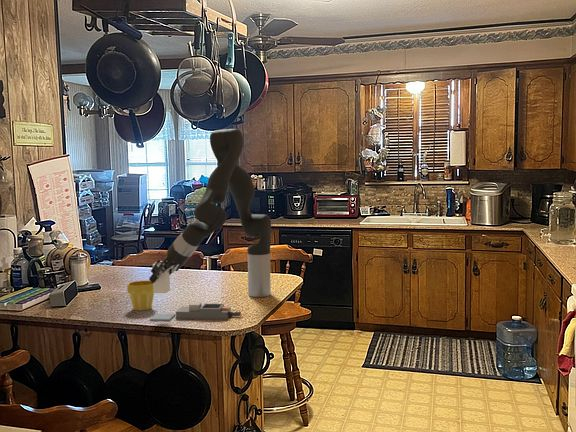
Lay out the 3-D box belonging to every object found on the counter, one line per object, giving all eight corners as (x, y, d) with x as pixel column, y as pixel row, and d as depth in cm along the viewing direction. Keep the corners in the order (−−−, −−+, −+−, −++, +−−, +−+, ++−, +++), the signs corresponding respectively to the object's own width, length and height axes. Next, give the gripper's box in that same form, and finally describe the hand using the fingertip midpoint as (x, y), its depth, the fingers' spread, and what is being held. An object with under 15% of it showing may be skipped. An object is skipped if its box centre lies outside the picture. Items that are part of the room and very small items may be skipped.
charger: (157, 290, 201) (156, 260, 200) (170, 290, 200) (169, 260, 199) (153, 293, 196) (152, 262, 195) (166, 293, 196) (165, 262, 195)
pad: (156, 315, 203) (156, 313, 203) (175, 315, 202) (175, 313, 202) (149, 320, 196) (149, 318, 196) (169, 320, 195) (169, 319, 195)
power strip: (181, 313, 205) (181, 301, 205) (242, 314, 203) (242, 301, 203) (176, 318, 198) (175, 306, 198) (238, 319, 196) (238, 306, 196)
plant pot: (131, 305, 218) (130, 280, 217) (158, 304, 219) (157, 279, 218) (125, 312, 208) (124, 286, 207) (154, 311, 208) (153, 285, 208)
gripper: (190, 237, 200) (165, 268, 206) (162, 242, 187) (136, 274, 194) (202, 253, 197) (176, 283, 204) (176, 259, 185) (149, 291, 191)
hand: (157, 279), depth 199 cm, fingers closed on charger, 6 cm apart
